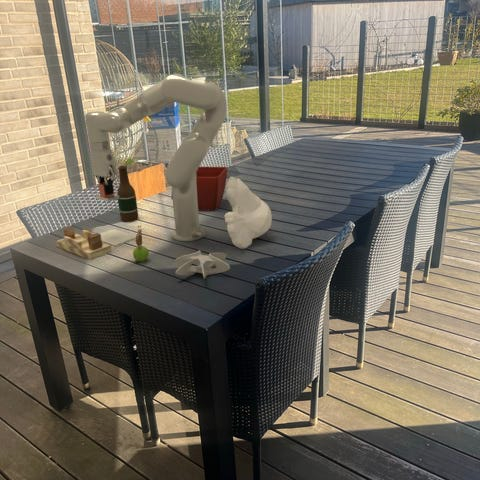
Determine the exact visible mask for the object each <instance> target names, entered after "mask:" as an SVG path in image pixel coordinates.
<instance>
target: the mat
mask: <svg viewBox="0 0 480 480" xmlns="http://www.w3.org/2000/svg"><path fill="white" fill-rule="evenodd" d="M100 234H101V240H102V243H103V242H104V243H105V244H107V245H110V246H111V247H112V246H113V247H117V246H120V245H123V244H125V242H126V243H129V242H130V241H133V240H136V235H135V234H130V233H127V232H124V231H121V230H118V229H115V228H113V229H110V230H106V231H103V232H101V233H100Z"/></svg>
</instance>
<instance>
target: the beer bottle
mask: <svg viewBox="0 0 480 480" xmlns="http://www.w3.org/2000/svg"><path fill="white" fill-rule="evenodd" d="M117 171H118V172H119V175H118V176H119V187H118V188H117V192H116V195H119V199H117V203H118V210H119V216H120V221H121V222H123V223H131V222H136V221H137V220H138V219H139V212H138V211H139V210H138V204H137V195H136V191H135V189H134V187H133V186H132V184H131V182H130V179H129V174H128V167H127V166H126V165H119V166H118V168H117Z"/></svg>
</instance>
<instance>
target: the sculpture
mask: <svg viewBox="0 0 480 480" xmlns="http://www.w3.org/2000/svg"><path fill="white" fill-rule="evenodd" d="M227 257H228V256H227V253H224V252H209V254H208V255H207V254H202V251H201V250H200V249H199V250H198V251H197V252H193V253H190V254H185V255H181V256H179V257H177V258H175V259H174V261H175V263H176V264H177V265H179V268H177V269H176V270H175V275H178V276H185V277H186V276H193V275H195V274H196V273H199V274H202V277H203V279H204V280H205V279H206V277H207V276H209V275H210V276H211V275H215V274H220V273H223V272H228V271H229V270H230V269H231V266H230V264H228V263H227V262H225V260H226V258H227ZM207 262H208V263H209V262H211V264H209V265H205V263H207ZM193 263H200V264H199V265H192V264H193Z"/></svg>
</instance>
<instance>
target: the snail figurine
mask: <svg viewBox="0 0 480 480" xmlns="http://www.w3.org/2000/svg"><path fill="white" fill-rule="evenodd" d="M137 227H138V229H137V233H136V235H135V236H136V239H135V244H136V245H137V246H136V247H135V248H134V249H133V251H132V252H133V253H132V256H133V259H135V260H136V261H137V262H144V261H146V260H147V259H148V258H149V256H150V255H149V254H150V253H149V250H148V248H147V247H145V246H143V234H142V231H143V230H142V229H141V227H142V225H137ZM139 227H140V228H139Z"/></svg>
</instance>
